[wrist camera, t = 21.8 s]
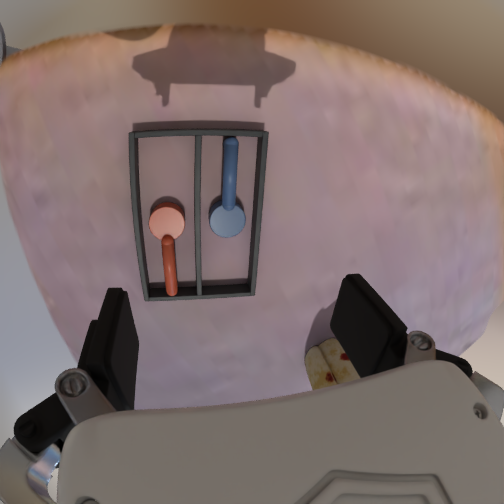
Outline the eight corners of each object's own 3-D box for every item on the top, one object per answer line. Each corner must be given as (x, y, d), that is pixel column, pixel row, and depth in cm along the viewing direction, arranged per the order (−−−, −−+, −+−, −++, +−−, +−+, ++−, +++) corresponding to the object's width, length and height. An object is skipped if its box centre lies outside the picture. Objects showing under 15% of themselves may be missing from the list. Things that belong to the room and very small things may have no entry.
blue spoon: (208, 231, 33) (210, 241, 31) (210, 135, 28) (212, 137, 26) (241, 230, 34) (246, 240, 32) (247, 136, 29) (253, 138, 26)
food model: (318, 369, 52) (356, 452, 34) (291, 364, 49) (326, 456, 32) (347, 333, 48) (400, 418, 31) (321, 326, 46) (373, 421, 29)
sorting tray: (146, 288, 36) (144, 301, 33) (134, 130, 26) (128, 132, 24) (250, 283, 39) (255, 295, 36) (261, 129, 29) (268, 131, 27)
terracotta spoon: (184, 200, 31) (184, 208, 28) (188, 285, 36) (188, 297, 34) (149, 202, 30) (146, 210, 27) (157, 286, 35) (156, 298, 33)
